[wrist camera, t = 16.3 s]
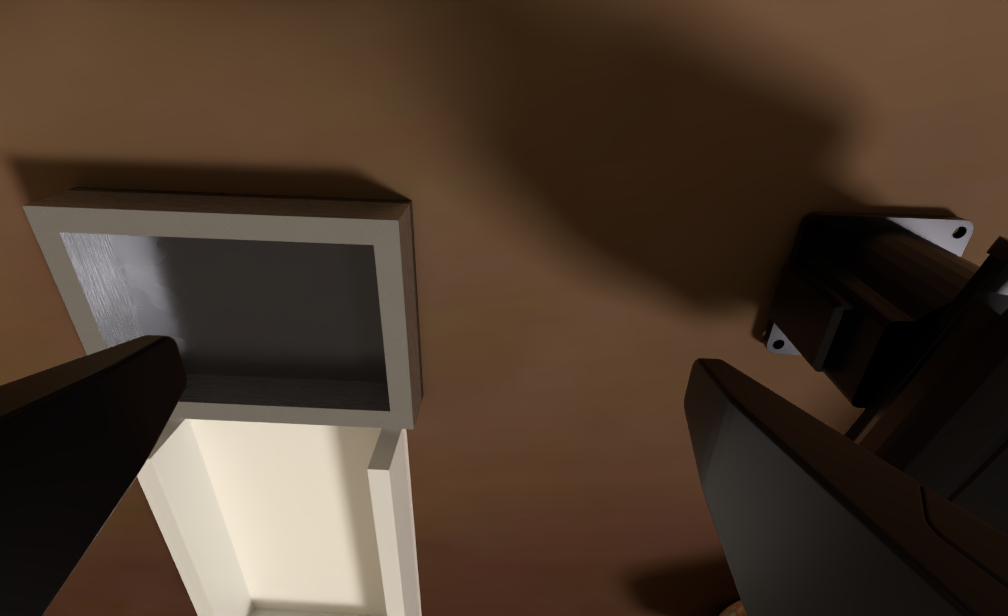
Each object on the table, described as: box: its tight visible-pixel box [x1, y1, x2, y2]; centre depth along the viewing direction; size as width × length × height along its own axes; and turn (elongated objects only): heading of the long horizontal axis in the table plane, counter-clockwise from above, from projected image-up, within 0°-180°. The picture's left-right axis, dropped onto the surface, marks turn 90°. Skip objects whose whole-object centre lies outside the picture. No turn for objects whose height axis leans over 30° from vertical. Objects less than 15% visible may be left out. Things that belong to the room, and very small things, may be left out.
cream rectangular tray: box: [137, 418, 422, 616], centre depth 29 cm, size 12×18×4 cm, turn 178°
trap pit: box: [23, 188, 423, 429], centre depth 22 cm, size 14×10×2 cm
